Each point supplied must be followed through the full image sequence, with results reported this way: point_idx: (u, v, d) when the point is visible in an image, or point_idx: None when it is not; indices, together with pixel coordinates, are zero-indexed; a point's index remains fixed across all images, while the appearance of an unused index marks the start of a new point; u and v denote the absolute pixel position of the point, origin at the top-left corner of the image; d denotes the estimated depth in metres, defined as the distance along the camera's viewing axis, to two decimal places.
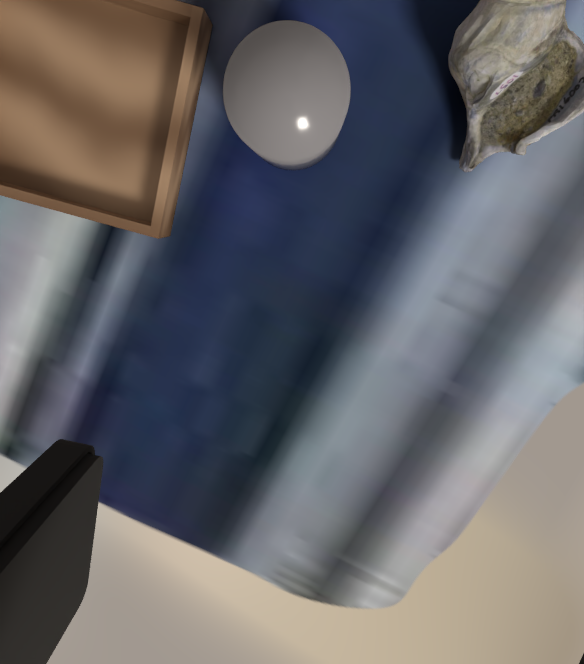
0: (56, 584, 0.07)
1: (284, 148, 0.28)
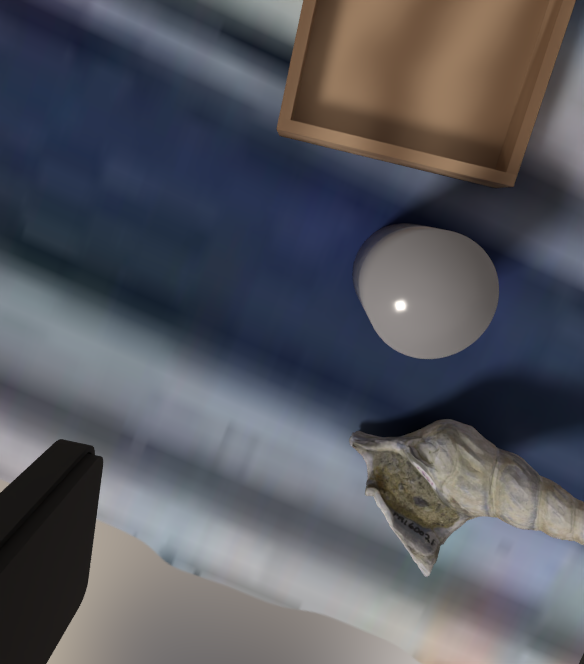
0: (56, 584, 0.07)
1: (377, 296, 0.26)
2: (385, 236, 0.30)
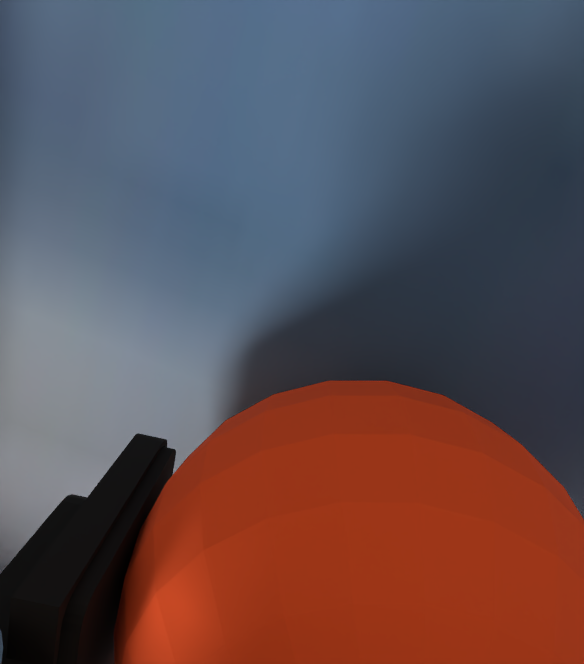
0: None
1: None
2: None
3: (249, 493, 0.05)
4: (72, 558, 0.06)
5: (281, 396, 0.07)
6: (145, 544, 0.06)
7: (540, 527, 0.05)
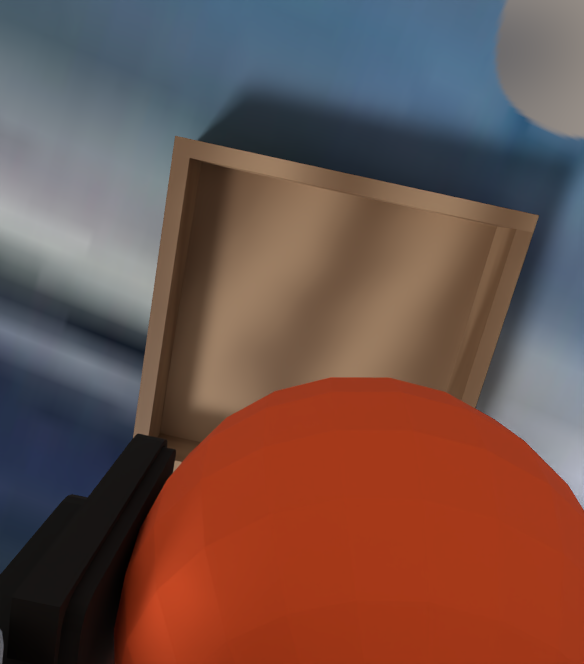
0: None
1: None
2: None
3: (250, 489, 0.05)
4: (72, 558, 0.06)
5: (283, 393, 0.07)
6: (146, 541, 0.06)
7: (546, 523, 0.05)
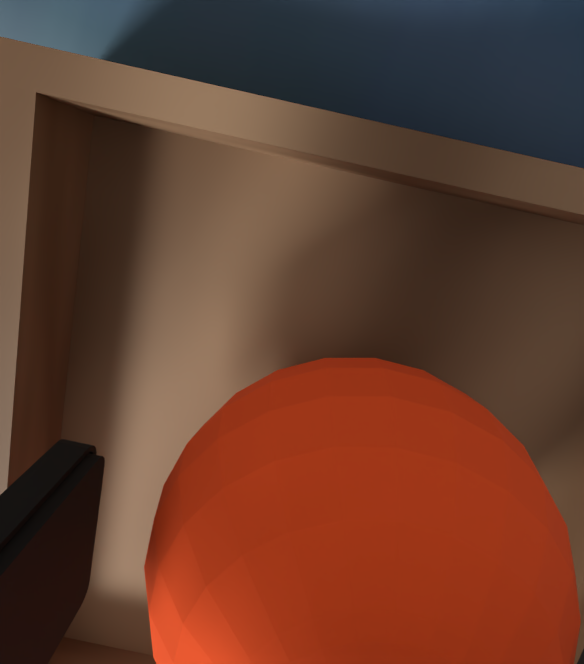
0: (58, 583, 0.07)
1: None
2: None
3: (258, 443, 0.07)
4: None
5: (284, 371, 0.08)
6: (171, 490, 0.07)
7: (495, 468, 0.06)
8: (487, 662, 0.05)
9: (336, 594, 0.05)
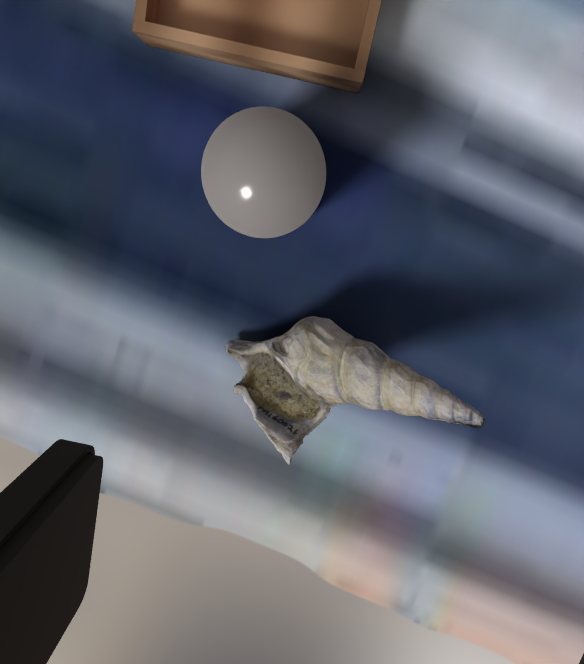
0: (56, 584, 0.07)
1: (212, 175, 0.28)
2: None
3: None
4: None
5: None
6: None
7: None
8: None
9: None
